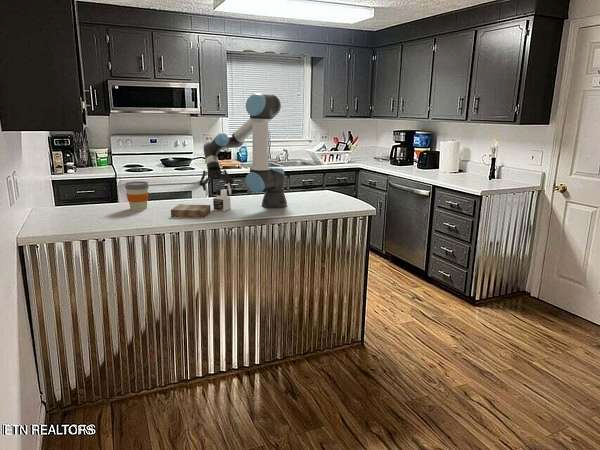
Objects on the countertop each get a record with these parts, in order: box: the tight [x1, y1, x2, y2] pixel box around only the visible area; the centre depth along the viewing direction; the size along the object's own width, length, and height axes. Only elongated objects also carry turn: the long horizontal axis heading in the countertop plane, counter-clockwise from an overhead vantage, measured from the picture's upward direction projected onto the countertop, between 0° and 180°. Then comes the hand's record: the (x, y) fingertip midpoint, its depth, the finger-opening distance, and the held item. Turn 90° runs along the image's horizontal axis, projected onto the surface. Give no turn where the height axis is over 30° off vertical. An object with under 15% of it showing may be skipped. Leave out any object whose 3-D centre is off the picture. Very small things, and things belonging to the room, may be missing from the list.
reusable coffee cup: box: [124, 180, 150, 211], centre depth 252 cm, size 13×13×15 cm
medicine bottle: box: [212, 188, 232, 212], centre depth 253 cm, size 7×7×12 cm
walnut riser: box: [170, 204, 212, 219], centre depth 241 cm, size 18×14×4 cm
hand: (219, 194), depth 256 cm, fingers open, 13 cm apart
